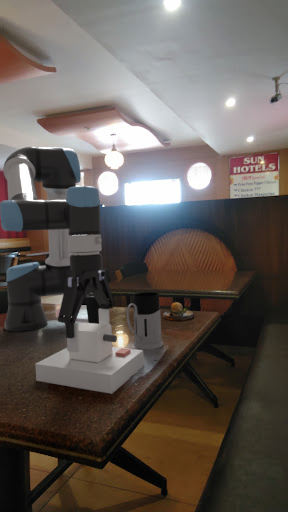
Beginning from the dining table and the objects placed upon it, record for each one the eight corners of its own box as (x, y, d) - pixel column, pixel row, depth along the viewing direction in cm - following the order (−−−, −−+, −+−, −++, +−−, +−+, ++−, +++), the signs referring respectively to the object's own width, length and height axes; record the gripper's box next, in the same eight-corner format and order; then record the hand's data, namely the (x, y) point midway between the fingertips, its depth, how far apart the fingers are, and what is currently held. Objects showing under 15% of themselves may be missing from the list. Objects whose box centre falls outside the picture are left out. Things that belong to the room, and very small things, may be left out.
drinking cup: (105, 339, 111) (102, 276, 109) (82, 339, 112) (79, 276, 111) (112, 332, 118) (109, 273, 117) (91, 332, 120) (87, 273, 119)
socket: (36, 380, 82) (35, 360, 81) (76, 357, 96) (75, 339, 96) (112, 393, 73) (110, 371, 73) (143, 365, 88) (142, 347, 87)
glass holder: (168, 342, 106) (166, 292, 105) (142, 357, 94) (140, 301, 93) (144, 338, 110) (142, 291, 109) (116, 352, 99) (113, 299, 98)
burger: (199, 316, 137) (198, 297, 136) (181, 323, 128) (180, 302, 128) (174, 312, 145) (174, 294, 144) (156, 318, 136) (155, 299, 136)
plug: (70, 376, 83) (67, 329, 83) (85, 366, 89) (83, 322, 89) (110, 382, 79) (107, 333, 78) (123, 371, 85) (121, 325, 84)
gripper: (66, 258, 70) (72, 362, 71) (124, 249, 92) (128, 329, 94) (36, 258, 73) (42, 358, 74) (99, 250, 96) (103, 327, 97)
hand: (90, 342), depth 84 cm, fingers open, 13 cm apart
